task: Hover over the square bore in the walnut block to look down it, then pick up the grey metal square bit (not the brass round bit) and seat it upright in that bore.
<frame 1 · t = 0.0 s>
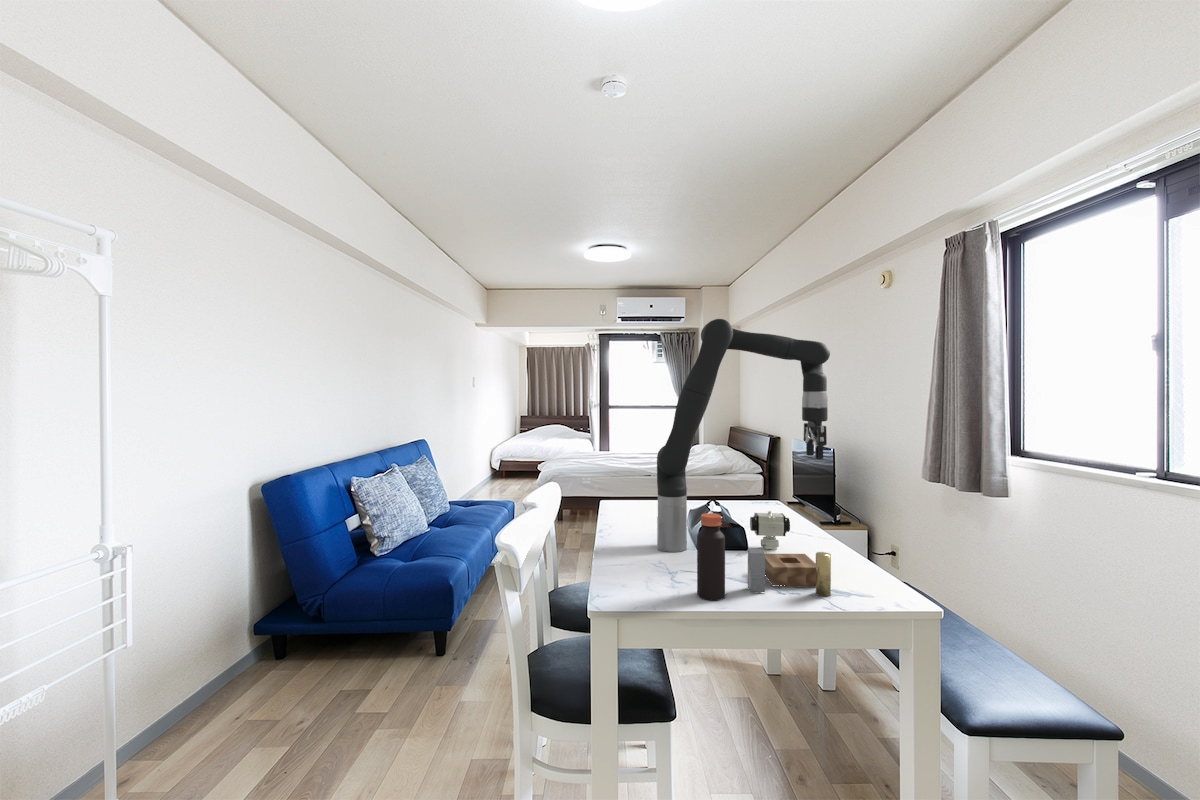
hand: (814, 457, 177), 29 cm above the table, tool pointing down, fingers open, 8 cm apart
socket block: (789, 578, 150), on the table
bottle: (711, 596, 138), on the table
round bit: (823, 594, 139), on the table
pneumatic valve: (769, 549, 178), on the table
square bit: (756, 590, 142), on the table
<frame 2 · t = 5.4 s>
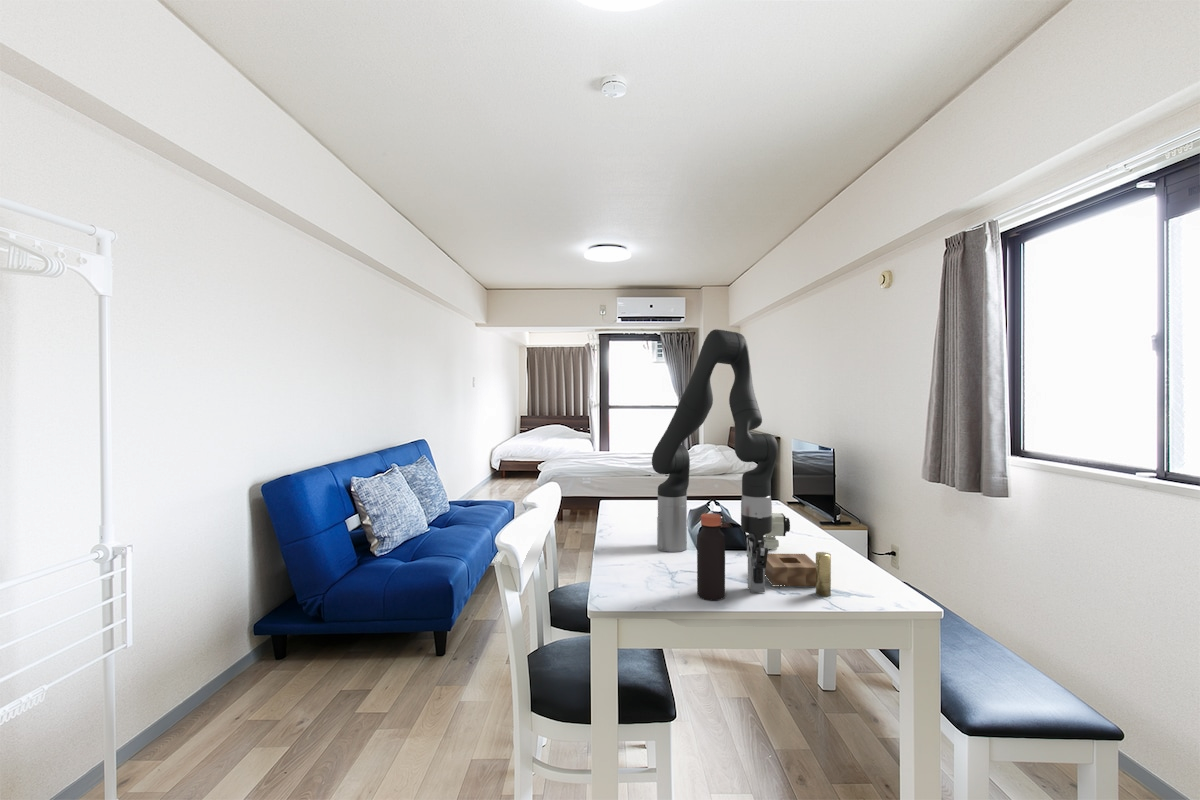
hand: (756, 579, 142), 3 cm above the table, tool pointing down, fingers closed on square bit, 3 cm apart
square bit: (756, 590, 142), on the table, touching gripper
everything else where it was.
when the fingers open (6 cm above the table, at t = 9.7 s): square bit drops 3 cm, resting in socket block.
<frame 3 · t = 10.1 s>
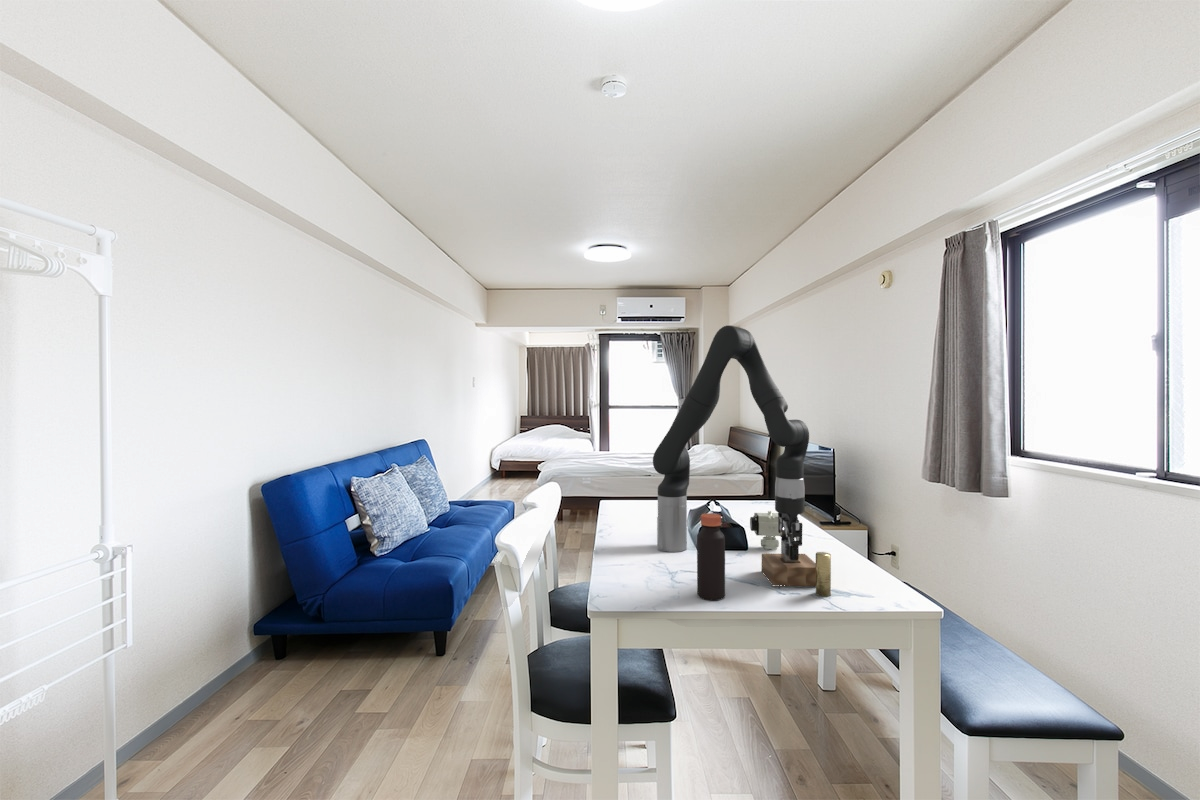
hand: (789, 555, 150), 6 cm above the table, tool pointing down, fingers open, 7 cm apart
square bit: (789, 578, 150), resting in socket block
everything else where it was.
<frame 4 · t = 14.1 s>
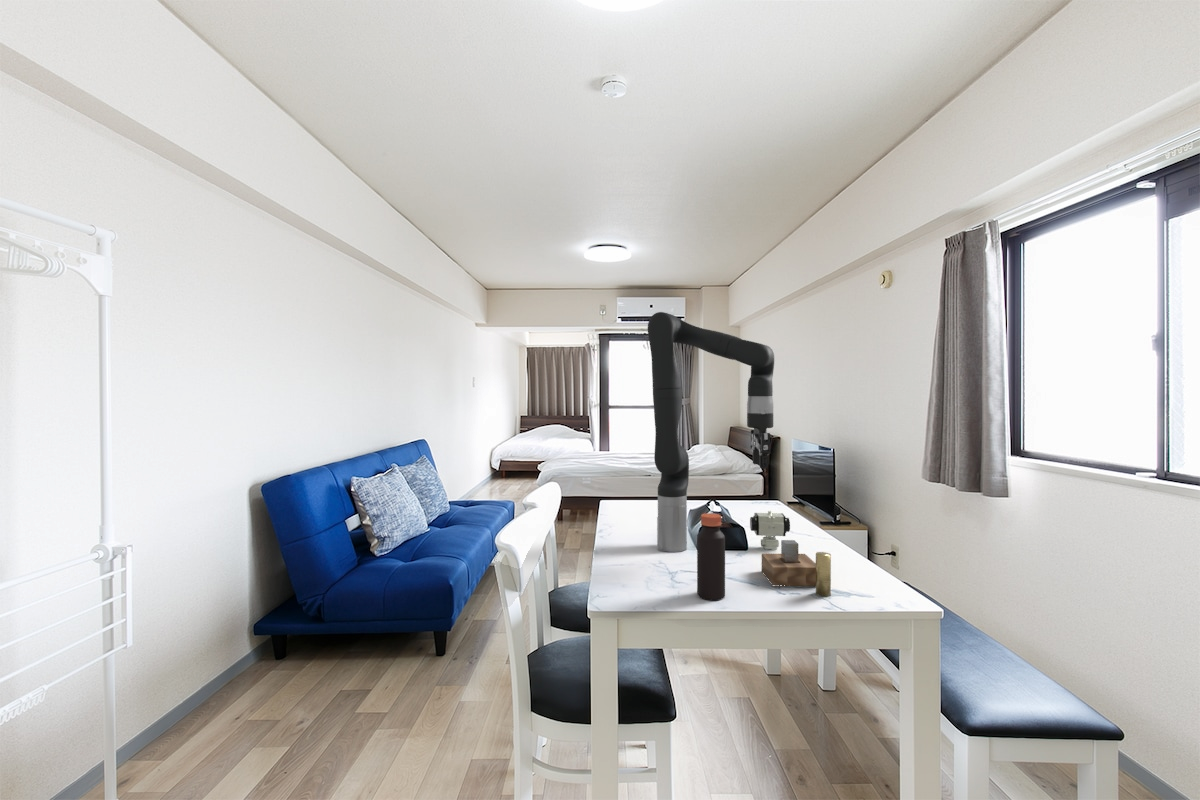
hand: (760, 466, 166), 28 cm above the table, tool pointing down, fingers open, 8 cm apart
nothing on the table moved.
at the end: square bit 0.1 cm off-centre on the socket block, point 0.0 cm above the socket block's base; square bit tilted 0°; the gripper is holding nothing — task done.
